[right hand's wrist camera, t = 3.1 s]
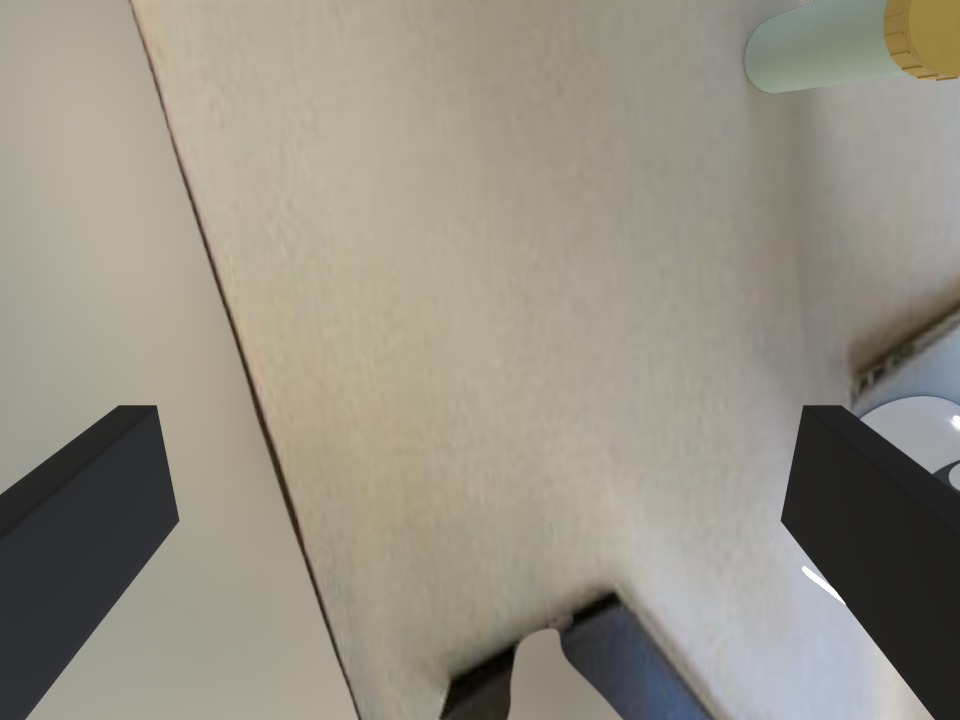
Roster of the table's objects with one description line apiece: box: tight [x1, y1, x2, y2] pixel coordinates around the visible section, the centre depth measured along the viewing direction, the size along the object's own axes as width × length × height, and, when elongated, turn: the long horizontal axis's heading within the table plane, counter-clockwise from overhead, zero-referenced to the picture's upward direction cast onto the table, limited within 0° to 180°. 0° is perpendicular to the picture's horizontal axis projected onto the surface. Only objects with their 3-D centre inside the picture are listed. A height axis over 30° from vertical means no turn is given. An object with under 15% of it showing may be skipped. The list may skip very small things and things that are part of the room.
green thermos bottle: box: [744, 0, 910, 93], centre depth 38 cm, size 5×5×19 cm
